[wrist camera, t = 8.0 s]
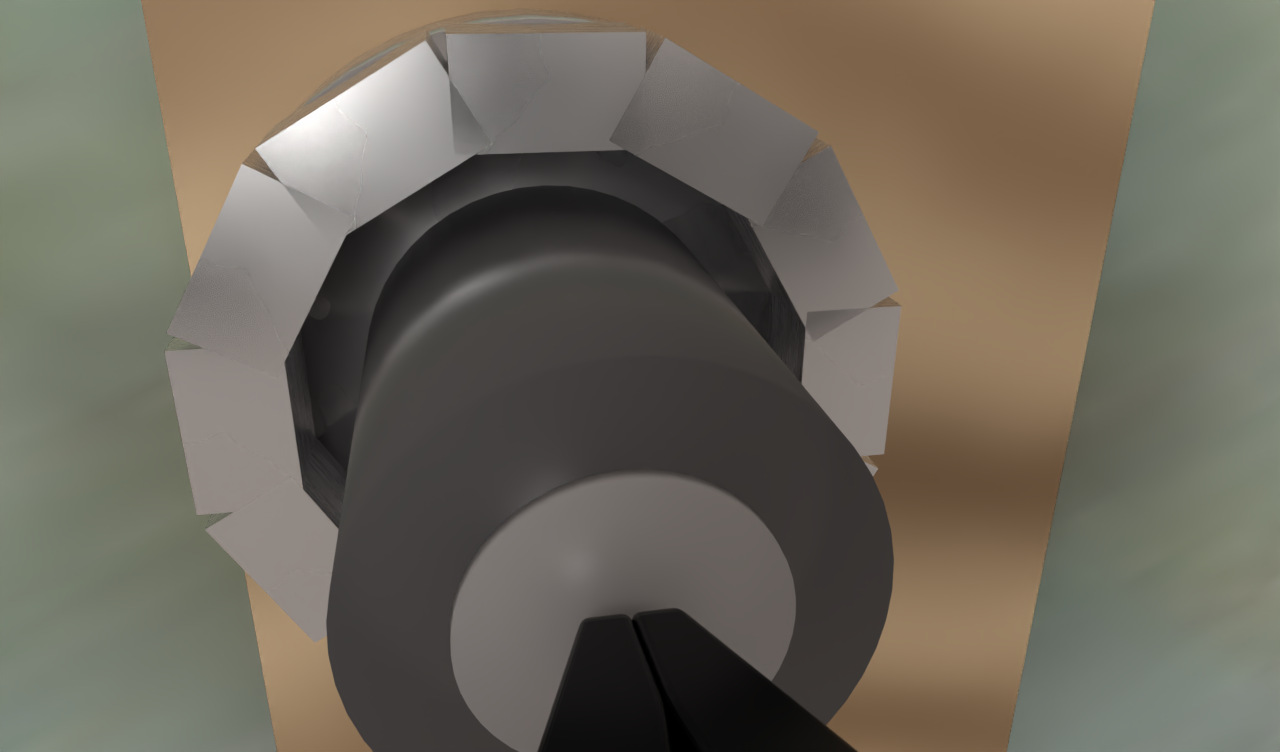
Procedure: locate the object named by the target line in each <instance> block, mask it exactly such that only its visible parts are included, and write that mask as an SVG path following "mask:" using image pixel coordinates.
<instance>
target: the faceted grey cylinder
mask: <svg viewBox="0 0 1280 752" xmlns="http://www.w3.org/2000/svg"><path fill="white" fill-rule="evenodd" d="M818 133H819V132H818V131H816V130H815V129H813V128H811V127H810V126H808V125H807V124H805V123H803V122H802V121H800V120H799V119H797V118H795V117H794V116H792V115H790V114H789V113H787V112H786V111H784V110H782V109H781V108H779V107H777V106H776V105H774V104H773V103H771V102H769V101H768V100H766V99H764V98H763V97H761V96H760V95H758V94H756V93H755V92H753V91H751V90H750V89H748V88H747V87H745V86H743V85H742V84H740V83H738V82H737V81H735V80H734V79H732V78H730V77H729V76H727V75H725V74H724V73H722V72H721V71H719V70H717V69H716V68H714V67H712V66H711V65H709V64H708V63H706V62H704V61H703V60H701V59H699V58H698V57H696V56H695V55H693V54H691V53H690V52H688V51H686V50H685V49H683V48H682V47H680V46H678V45H677V44H675V43H673V42H672V41H670V40H669V39H667V38H665V37H663V36H661V35H658V34H656V33H653V32H651V31H649V30H646V29H644V28H642V27H640V29H638V28H635V27H633V26H631V25H628V24H626V23H624V22H611V21H608V20H605V19H600V18H595V17H591V16H586V15H581V14H576V13H571V12H566V11H555V10H539V9H524V8H520V9H507V10H494V11H480V12H475V13H470V14H466V15H461V16H457V17H452V18H447V19H443V20H438V21H435V22H432V23H429V24H427V25H424V26H421V27H419V28H416V29H413V30H411V31H408V32H405V33H402V34H400V35H397V36H395V37H393V38H391V39H389V40H388V41H386V42H384V43H382V44H380V45H378V46H376V47H375V48H373V49H371V50H369V51H367V52H365V53H363V54H362V55H360V56H358V57H357V58H355V59H354V60H353V61H351V62H350V63H349V64H347V65H346V66H345V67H343V68H342V69H340V70H339V71H338V72H336V73H335V74H334V75H332V76H331V77H330V78H328V79H327V80H326V81H324V82H323V83H322V84H321V85H320V86H319V87H318V88H317V89H316V90H315V91H314V92H313V93H312V94H311V95H310V96H309V97H308V98H307V99H306V100H305V101H304V102H303V103H302V104H301V105H300V106H299V107H298V108H297V109H296V110H295V111H294V112H293V113H292V115H290V116H288V117H287V118H285V119H284V120H282V121H281V122H279V123H277V124H276V125H274V127H273V128H272V129H271V130H270V131H269V133H268V134H267V135H266V136H265V137H264V138H263V139H262V140H261V142H260V143H259V144H258V145H257V146H256V147H255V149H254V150H253V151H252V152H251V153H250V155H249V156H248V157H247V158H246V159H245V161H244V162H243V163H242V164H241V167H240V169H239V171H238V173H237V176H236V178H235V180H234V182H233V185H232V187H231V189H230V191H229V194H228V196H227V198H226V200H225V203H224V205H223V207H222V209H221V212H220V214H219V216H218V218H217V221H216V223H215V225H214V227H213V230H212V232H211V234H210V236H209V239H208V241H207V243H206V245H205V248H204V250H203V252H202V254H201V256H200V259H199V261H198V263H197V265H196V268H195V270H194V272H193V274H192V277H191V279H190V281H189V283H188V286H187V288H186V290H185V292H184V295H183V297H182V299H181V301H180V304H179V306H178V308H177V310H176V313H175V315H174V317H173V319H172V322H171V324H170V326H169V328H168V331H167V334H170V335H172V336H174V337H173V339H172V340H171V342H170V344H169V345H168V347H167V348H166V350H165V351H164V352H165V357H166V362H167V367H168V372H169V377H170V382H171V387H172V392H173V397H174V402H175V407H176V412H177V417H178V422H179V427H180V432H181V437H182V442H183V448H184V453H185V458H186V463H187V468H188V473H189V478H190V483H191V488H192V493H193V498H194V503H195V508H196V513H197V515H205V514H211V516H210V518H209V521H208V524H207V526H206V529H205V530H206V532H207V533H208V534H209V535H210V536H211V537H212V538H213V539H214V540H215V541H216V542H217V543H218V544H219V545H220V546H221V547H222V548H223V549H224V550H225V551H226V552H227V553H228V554H229V555H230V556H231V557H232V558H233V559H234V560H235V561H236V562H237V563H238V564H239V565H240V566H241V567H242V568H243V570H244V571H245V572H246V573H247V574H248V575H249V576H250V577H251V578H252V579H253V580H254V581H255V582H256V583H257V584H258V585H259V586H260V587H261V588H262V589H263V590H264V591H265V592H266V593H267V594H268V595H269V596H270V597H271V598H272V599H273V600H274V601H275V602H276V603H277V604H278V605H279V606H280V608H281V609H282V610H283V611H284V612H285V613H286V614H287V615H288V616H289V617H290V618H291V619H292V620H293V621H294V622H295V623H296V624H297V625H298V626H299V627H300V628H301V629H302V630H303V631H304V632H305V633H306V634H307V635H308V636H309V637H310V638H311V639H312V640H313V641H314V642H315V643H316V642H317V641H319V640H321V639H322V638H324V637H326V636H327V628H326V618H327V609H328V599H329V590H330V583H331V576H332V570H333V563H334V557H335V550H336V543H337V537H338V530H339V524H340V517H341V511H342V504H343V498H344V491H345V484H346V478H347V471H348V465H349V458H350V452H351V445H352V438H353V432H354V425H355V419H356V412H357V406H358V399H359V393H360V386H361V379H362V373H363V366H364V360H365V353H366V347H367V340H368V333H369V327H370V324H371V320H372V316H373V312H374V308H375V305H376V303H377V300H378V298H379V296H380V293H381V291H382V288H383V286H384V284H385V282H386V281H387V279H388V277H389V276H390V274H391V272H392V271H393V269H394V267H395V266H396V264H397V263H398V261H399V260H400V259H401V258H402V257H403V255H404V254H405V253H406V252H407V250H408V249H409V248H410V247H411V245H412V244H413V243H415V242H416V241H417V240H418V239H419V238H420V237H421V236H422V235H423V234H424V233H425V232H426V231H427V230H428V229H429V228H431V227H432V226H434V225H435V224H436V223H438V222H439V221H440V220H442V219H443V218H445V217H446V216H447V215H449V214H451V213H452V212H454V211H456V210H458V209H460V208H462V207H464V206H465V205H467V204H469V203H471V202H474V201H476V200H479V199H482V198H484V197H487V196H490V195H492V194H495V193H499V192H503V191H508V190H512V189H516V188H521V187H531V186H541V185H555V186H572V187H579V188H585V189H591V190H595V191H599V192H602V193H605V194H608V195H612V196H615V197H618V198H620V199H622V200H624V201H626V202H629V203H631V204H633V205H635V206H637V207H639V208H641V209H642V210H644V211H645V212H647V213H648V214H650V215H652V216H653V217H655V218H656V219H658V220H659V221H660V222H661V223H662V224H664V225H665V226H666V227H667V228H668V229H670V230H671V231H672V232H673V233H674V234H675V235H676V236H677V237H678V238H679V239H680V240H681V242H682V243H683V244H684V245H685V246H686V247H687V248H688V249H689V251H690V252H691V253H692V254H693V255H694V257H695V258H696V259H697V260H698V261H699V262H700V264H701V265H702V266H703V267H704V268H705V270H706V271H707V272H708V273H709V274H710V276H711V277H712V278H713V279H714V280H715V282H716V283H717V284H718V285H719V286H720V288H721V289H722V290H723V291H724V292H725V293H726V295H727V296H728V297H729V298H730V299H731V301H732V302H733V303H734V304H735V305H736V307H737V308H738V309H739V310H740V311H741V313H742V314H743V315H744V316H745V317H746V319H747V320H748V321H749V322H750V323H751V324H752V326H753V327H754V328H755V329H756V330H757V332H758V333H759V334H760V335H761V336H762V338H763V339H764V340H765V341H766V342H767V344H768V345H769V346H770V347H771V348H772V350H773V351H774V352H775V353H776V354H777V355H778V357H779V358H780V359H781V360H782V361H783V363H784V364H785V365H786V366H787V367H788V369H789V370H790V371H791V372H792V373H793V375H794V376H795V377H796V378H797V379H798V381H799V382H800V383H801V384H802V385H803V386H804V388H805V389H806V390H807V391H808V392H809V394H810V395H811V396H812V397H813V398H814V400H815V401H816V402H817V403H818V404H819V406H820V407H821V408H822V409H823V410H824V411H825V413H826V414H827V415H828V416H829V417H830V419H831V420H832V421H833V422H834V423H835V425H836V426H837V427H838V428H839V429H840V431H841V432H842V433H843V434H844V435H845V437H846V438H847V439H848V440H849V441H850V442H851V444H852V445H853V446H854V447H855V449H856V450H857V452H858V453H859V455H860V457H861V458H862V460H863V461H864V463H865V464H866V466H867V467H868V469H869V470H870V472H871V474H872V476H874V474H875V473H876V471H877V470H878V467H877V466H876V465H875V464H874V463H873V461H872V460H871V459H870V458H869V457H868V456H869V455H881V454H884V451H885V442H886V434H887V425H888V417H889V408H890V399H891V391H892V382H893V374H894V365H895V356H896V348H897V339H898V331H899V322H900V313H901V305H899V304H898V303H897V302H896V301H894V300H893V299H892V298H890V297H889V296H890V295H892V294H893V293H895V292H897V291H898V290H899V289H898V287H897V285H896V283H895V281H894V279H893V277H892V274H891V272H890V270H889V268H888V266H887V264H886V262H885V260H884V257H883V255H882V253H881V251H880V249H879V247H878V245H877V243H876V240H875V238H874V236H873V234H872V232H871V230H870V228H869V225H868V223H867V221H866V219H865V217H864V215H863V213H862V211H861V208H860V206H859V204H858V202H857V200H856V198H855V196H854V194H853V191H852V189H851V187H850V185H849V183H848V181H847V179H846V177H845V174H844V172H843V170H842V168H841V166H840V164H839V162H838V160H837V157H836V155H835V153H834V151H833V149H832V147H831V145H829V144H827V143H825V142H823V141H821V140H819V139H817V138H816V137H817V135H818Z"/></svg>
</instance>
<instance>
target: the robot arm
mask: <svg viewBox="0 0 1280 752" xmlns="http://www.w3.org/2000/svg"><path fill="white" fill-rule="evenodd" d="M537 752H858V751H857V750H856V749H855V748H853V747H852V746H851V745H850V744H848V743H847V742H846V741H845V740H843V739H842V738H841V737H840V736H839V735H837V734H836V733H835V732H834V731H832V730H831V729H830V728H829V727H827V726H826V725H825V724H824V723H822V722H821V721H820V720H819V719H817V718H816V717H815V716H814V715H812V714H811V713H810V712H809V711H807V710H806V709H805V708H804V707H803V706H801V705H800V704H799V703H798V702H796V701H795V700H794V699H793V698H791V697H790V696H789V695H788V694H786V693H785V692H784V691H783V690H781V689H780V688H779V687H778V686H776V685H775V684H774V683H773V682H771V681H770V680H769V679H768V678H766V677H765V676H764V675H763V674H762V673H760V672H759V671H758V670H757V669H755V668H754V667H753V666H752V665H750V664H749V663H748V662H747V661H745V660H744V659H743V658H742V657H740V656H739V655H738V654H737V653H735V652H734V651H733V650H732V649H730V648H729V647H728V646H727V645H725V644H724V643H723V642H722V641H721V640H719V639H718V638H717V637H716V636H714V635H713V634H712V633H711V632H709V631H708V630H707V629H706V628H704V627H703V626H702V625H701V624H699V623H698V622H697V621H696V620H694V619H693V618H692V617H691V616H689V615H688V614H687V613H686V612H684V611H683V610H681V609H678V608H668V609H659V610H650V611H642V612H637V613H636V614H635V615H634V616H633V618H632V619H631V618H630V617H629V616H627V615H625V614H615V615H606V616H597V617H588V618H585V619H584V620H582V622H581V623H580V625H579V627H578V630H577V633H576V636H575V639H574V642H573V645H572V648H571V651H570V654H569V657H568V660H567V663H566V666H565V669H564V672H563V675H562V678H561V681H560V684H559V687H558V690H557V693H556V696H555V699H554V702H553V705H552V708H551V711H550V714H549V718H548V721H547V724H546V727H545V730H544V733H543V736H542V739H541V742H540V745H539V748H538V751H537Z"/></svg>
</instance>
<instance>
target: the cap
mask: <svg viewBox="0 0 1280 752" xmlns="http://www.w3.org/2000/svg"><path fill="white" fill-rule="evenodd" d="M893 569H894V555H893V544H892V534H891V528H890V524H889V520H888V516H887V512H886V508H885V505H884V501H883V499H882V496H881V494H880V492H879V490H878V487H877V485H876V483H875V480H874V478H873V476H872V474H871V472H870V470H869V469H868V467H867V466H866V464H865V463H864V461H863V460H862V458H861V457H860V455H859V453H858V452H857V450H856V449H855V447H854V446H853V445H852V444H851V442H850V441H849V440H848V439H847V438H846V437H845V435H844V434H843V433H842V432H841V431H840V429H839V428H838V427H837V426H836V425H835V423H834V422H833V421H832V420H831V419H830V417H829V416H828V415H827V414H826V413H825V411H824V410H823V409H822V408H821V407H820V406H819V404H818V403H817V402H816V401H815V400H814V398H813V397H812V396H811V395H810V394H809V392H808V391H807V390H806V389H805V388H804V386H803V385H802V384H801V383H800V382H799V381H798V379H797V378H796V377H795V376H794V375H793V373H792V372H791V371H790V370H789V369H788V367H787V366H786V365H785V364H784V363H783V361H782V360H781V359H780V358H779V357H778V355H777V354H776V353H775V352H774V351H773V350H772V348H771V347H770V346H769V345H768V344H767V342H766V341H765V340H764V339H763V338H762V336H761V335H760V334H759V333H758V332H757V330H756V329H755V328H754V327H753V326H752V324H751V323H750V322H749V321H748V320H747V319H746V317H745V316H744V315H743V314H742V313H741V311H740V310H739V309H738V308H737V307H736V305H735V304H734V303H733V302H732V301H731V299H730V298H729V297H728V296H727V295H726V293H725V292H724V291H723V290H722V289H721V288H720V286H719V285H718V284H717V283H716V282H715V280H714V279H713V278H712V277H711V276H710V274H709V273H708V272H707V271H706V270H705V268H704V267H703V266H702V265H701V264H700V262H699V261H698V260H697V259H696V258H695V257H694V255H693V254H692V253H691V252H690V251H689V249H688V248H687V247H686V246H685V245H684V244H683V243H682V242H681V240H680V239H679V238H678V237H677V236H676V235H675V234H674V233H673V232H672V231H671V230H670V229H668V228H667V227H666V226H665V225H664V224H662V223H661V222H660V221H659V220H658V219H656V218H655V217H653V216H652V215H650V214H648V213H647V212H645V211H644V210H642V209H641V208H639V207H637V206H635V205H633V204H631V203H629V202H626V201H624V200H622V199H620V198H618V197H615V196H612V195H608V194H605V193H602V192H599V191H595V190H591V189H585V188H579V187H572V186H555V185H541V186H531V187H521V188H516V189H512V190H508V191H503V192H499V193H495V194H492V195H490V196H487V197H484V198H482V199H479V200H476V201H474V202H471V203H469V204H467V205H465V206H464V207H462V208H460V209H458V210H456V211H454V212H452V213H451V214H449V215H447V216H446V217H445V218H443V219H442V220H440V221H439V222H438V223H436V224H435V225H434V226H432V227H431V228H429V229H428V230H427V231H426V232H425V233H424V234H423V235H422V236H421V237H420V238H419V239H418V240H417V241H416V242H415V243H413V244H412V245H411V247H410V248H409V249H408V250H407V252H406V253H405V254H404V255H403V257H402V258H401V259H400V260H399V261H398V263H397V264H396V266H395V267H394V269H393V271H392V272H391V274H390V276H389V277H388V279H387V281H386V282H385V284H384V286H383V288H382V291H381V293H380V296H379V298H378V300H377V303H376V305H375V308H374V312H373V316H372V320H371V324H370V327H369V333H368V340H367V347H366V353H365V360H364V366H363V373H362V379H361V386H360V393H359V399H358V406H357V412H356V419H355V425H354V432H353V438H352V445H351V452H350V458H349V465H348V471H347V478H346V484H345V491H344V498H343V504H342V511H341V517H340V524H339V530H338V537H337V543H336V550H335V557H334V563H333V570H332V576H331V583H330V590H329V599H328V609H327V618H326V628H327V645H328V656H329V661H330V665H331V669H332V674H333V678H334V682H335V686H336V688H337V691H338V693H339V696H340V698H341V700H342V703H343V705H344V708H345V710H346V713H347V715H348V716H349V718H350V719H351V721H352V723H353V724H354V726H355V728H356V729H357V731H358V732H359V734H360V736H361V737H362V739H363V740H364V742H365V743H366V744H367V745H368V746H369V747H370V748H371V750H372V751H373V752H537V751H538V748H539V745H540V742H541V739H542V736H543V733H544V730H545V727H546V724H547V721H548V718H549V714H550V711H551V708H552V705H553V702H554V699H555V696H556V693H557V690H558V687H559V684H560V681H561V678H562V675H563V672H564V669H565V666H566V663H567V660H568V657H569V654H570V651H571V648H572V645H573V642H574V639H575V636H576V633H577V630H578V627H579V625H580V623H581V622H582V620H584V619H585V618H588V617H597V616H606V615H615V614H625V615H627V616H629V617H630V618H631V619H632V618H633V616H634V615H635V614H636V613H637V612H642V611H650V610H659V609H668V608H678V609H681V610H683V611H684V612H686V613H687V614H688V615H689V616H691V617H692V618H693V619H694V620H696V621H697V622H698V623H699V624H701V625H702V626H703V627H704V628H706V629H707V630H708V631H709V632H711V633H712V634H713V635H714V636H716V637H717V638H718V639H719V640H721V641H722V642H723V643H724V644H725V645H727V646H728V647H729V648H730V649H732V650H733V651H734V652H735V653H737V654H738V655H739V656H740V657H742V658H743V659H744V660H745V661H747V662H748V663H749V664H750V665H752V666H753V667H754V668H755V669H757V670H758V671H759V672H760V673H762V674H763V675H764V676H765V677H766V678H768V679H769V680H770V681H771V682H773V683H774V684H775V685H776V686H778V687H779V688H780V689H781V690H783V691H784V692H785V693H786V694H788V695H789V696H790V697H791V698H793V699H794V700H795V701H796V702H798V703H799V704H800V705H801V706H803V707H804V708H805V709H806V710H807V711H809V712H810V713H811V714H812V715H814V716H815V717H816V718H817V719H819V720H820V721H821V722H822V723H824V724H825V725H827V724H828V723H829V721H830V720H831V719H832V718H833V717H834V715H835V714H836V713H837V712H838V711H839V709H840V708H841V707H842V706H843V704H844V703H845V702H846V701H847V699H848V698H849V696H850V694H851V693H852V691H853V690H854V688H855V687H856V685H857V684H858V682H859V681H860V679H861V678H862V676H863V674H864V672H865V670H866V668H867V666H868V664H869V662H870V660H871V658H872V656H873V654H874V652H875V650H876V648H877V645H878V642H879V639H880V636H881V634H882V631H883V628H884V625H885V622H886V619H887V614H888V609H889V604H890V599H891V594H892V587H893Z"/></svg>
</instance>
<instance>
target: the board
mask: <svg viewBox="0 0 1280 752" xmlns="http://www.w3.org/2000/svg"><path fill="white" fill-rule="evenodd" d="M141 2H142V8H143V13H144V19H145V24H146V30H147V35H148V41H149V46H150V52H151V57H152V63H153V68H154V74H155V79H156V85H157V90H158V96H159V102H160V107H161V113H162V118H163V124H164V129H165V135H166V140H167V146H168V151H169V157H170V162H171V168H172V173H173V179H174V184H175V190H176V195H177V201H178V206H179V212H180V217H181V223H182V228H183V234H184V240H185V245H186V251H187V256H188V262H189V267H190V273H191V277H192V274H193V272H194V270H195V268H196V265H197V263H198V261H199V259H200V256H201V254H202V252H203V250H204V248H205V245H206V243H207V241H208V239H209V236H210V234H211V232H212V230H213V227H214V225H215V223H216V221H217V218H218V216H219V214H220V212H221V209H222V207H223V205H224V203H225V200H226V198H227V196H228V194H229V191H230V189H231V187H232V185H233V182H234V180H235V178H236V176H237V173H238V171H239V169H240V167H241V164H242V163H243V162H244V161H245V159H246V158H247V157H248V156H249V155H250V153H251V152H252V151H253V150H254V149H255V147H256V146H257V145H258V144H259V143H260V142H261V140H262V139H263V138H264V137H265V136H266V135H267V134H268V133H269V131H270V130H271V129H272V128H273V127H274V125H276V124H277V123H279V122H281V121H282V120H284V119H285V118H287V117H288V116H290V115H292V113H293V112H294V111H295V110H296V109H297V108H298V107H299V106H300V105H301V104H302V103H303V102H304V101H305V100H306V99H307V98H308V97H309V96H310V95H311V94H312V93H313V92H314V91H315V90H316V89H317V88H318V87H319V86H320V85H321V84H322V83H323V82H324V81H326V80H327V79H328V78H330V77H331V76H332V75H334V74H335V73H336V72H338V71H339V70H340V69H342V68H343V67H345V66H346V65H347V64H349V63H350V62H351V61H353V60H354V59H355V58H357V57H358V56H360V55H362V54H363V53H365V52H367V51H369V50H371V49H373V48H375V47H376V46H378V45H380V44H382V43H384V42H386V41H388V40H389V39H391V38H393V37H395V36H397V35H400V34H402V33H405V32H408V31H411V30H413V29H416V28H419V27H421V26H424V25H427V24H429V23H432V22H435V21H438V20H443V19H447V18H452V17H457V16H461V15H466V14H470V13H475V12H480V11H494V10H507V9H520V8H524V9H539V10H555V11H566V12H571V13H576V14H581V15H586V16H591V17H595V18H600V19H605V20H608V21H611V22H624V23H626V24H628V25H631V26H633V27H635V28H638V29H640V27H642V28H644V29H646V30H649V31H651V32H653V33H656V34H658V35H661V36H663V37H665V38H667V39H669V40H670V41H672V42H673V43H675V44H677V45H678V46H680V47H682V48H683V49H685V50H686V51H688V52H690V53H691V54H693V55H695V56H696V57H698V58H699V59H701V60H703V61H704V62H706V63H708V64H709V65H711V66H712V67H714V68H716V69H717V70H719V71H721V72H722V73H724V74H725V75H727V76H729V77H730V78H732V79H734V80H735V81H737V82H738V83H740V84H742V85H743V86H745V87H747V88H748V89H750V90H751V91H753V92H755V93H756V94H758V95H760V96H761V97H763V98H764V99H766V100H768V101H769V102H771V103H773V104H774V105H776V106H777V107H779V108H781V109H782V110H784V111H786V112H787V113H789V114H790V115H792V116H794V117H795V118H797V119H799V120H800V121H802V122H803V123H805V124H807V125H808V126H810V127H811V128H813V129H815V130H816V131H818V132H819V133H818V135H817V137H816V138H817V139H819V140H821V141H823V142H825V143H827V144H829V145H831V147H832V149H833V151H834V153H835V155H836V157H837V160H838V162H839V164H840V166H841V168H842V170H843V172H844V174H845V177H846V179H847V181H848V183H849V185H850V187H851V189H852V191H853V194H854V196H855V198H856V200H857V202H858V204H859V206H860V208H861V211H862V213H863V215H864V217H865V219H866V221H867V223H868V225H869V228H870V230H871V232H872V234H873V236H874V238H875V240H876V243H877V245H878V247H879V249H880V251H881V253H882V255H883V257H884V260H885V262H886V264H887V266H888V268H889V270H890V272H891V274H892V277H893V279H894V281H895V283H896V285H897V287H898V289H899V290H898V291H897V292H895V293H893V294H892V295H890V296H889V297H890V298H892V299H893V300H894V301H896V302H897V303H898V304H899V305H901V313H900V322H899V331H898V339H897V348H896V356H895V365H894V374H893V382H892V391H891V399H890V408H889V417H888V425H887V434H886V442H885V451H884V454H881V455H869V456H868V457H869V458H870V459H871V460H872V461H873V463H874V464H875V465H876V466H877V467H878V470H877V471H876V473H875V474H874V476H873V478H874V480H875V483H876V485H877V487H878V490H879V492H880V494H881V496H882V499H883V501H884V505H885V508H886V512H887V516H888V520H889V524H890V528H891V534H892V544H893V555H894V569H893V587H892V594H891V599H890V604H889V609H888V614H887V619H886V622H885V625H884V628H883V631H882V634H881V636H880V639H879V642H878V645H877V648H876V650H875V652H874V654H873V656H872V658H871V660H870V662H869V664H868V666H867V668H866V670H865V672H864V674H863V676H862V678H861V679H860V681H859V682H858V684H857V685H856V687H855V688H854V690H853V691H852V693H851V694H850V696H849V698H848V699H847V701H846V702H845V703H844V704H843V706H842V707H841V708H840V709H839V711H838V712H837V713H836V714H835V715H834V717H833V718H832V719H831V720H830V721H829V723H828V724H827V725H826V726H827V727H829V728H830V729H831V730H832V731H834V732H835V733H836V734H837V735H839V736H840V737H841V738H842V739H843V740H845V741H846V742H847V743H848V744H850V745H851V746H852V747H853V748H855V749H856V750H857V751H858V752H1007V747H1008V742H1009V737H1010V732H1011V727H1012V722H1013V716H1014V711H1015V706H1016V701H1017V696H1018V691H1019V686H1020V681H1021V676H1022V671H1023V666H1024V661H1025V656H1026V651H1027V646H1028V641H1029V636H1030V631H1031V626H1032V620H1033V615H1034V610H1035V605H1036V600H1037V595H1038V590H1039V585H1040V580H1041V575H1042V570H1043V565H1044V560H1045V555H1046V550H1047V545H1048V540H1049V535H1050V530H1051V524H1052V519H1053V514H1054V509H1055V504H1056V499H1057V494H1058V489H1059V484H1060V479H1061V474H1062V469H1063V464H1064V459H1065V454H1066V449H1067V444H1068V439H1069V434H1070V428H1071V423H1072V418H1073V413H1074V408H1075V403H1076V398H1077V393H1078V388H1079V383H1080V378H1081V373H1082V368H1083V363H1084V358H1085V353H1086V348H1087V343H1088V338H1089V332H1090V327H1091V322H1092V317H1093V312H1094V307H1095V302H1096V297H1097V292H1098V287H1099V282H1100V277H1101V272H1102V267H1103V262H1104V257H1105V252H1106V247H1107V242H1108V236H1109V231H1110V226H1111V221H1112V216H1113V211H1114V206H1115V201H1116V196H1117V191H1118V186H1119V181H1120V176H1121V171H1122V166H1123V161H1124V156H1125V151H1126V146H1127V140H1128V135H1129V130H1130V125H1131V120H1132V115H1133V110H1134V105H1135V100H1136V95H1137V90H1138V85H1139V80H1140V75H1141V70H1142V65H1143V60H1144V55H1145V50H1146V44H1147V39H1148V34H1149V29H1150V24H1151V19H1152V14H1153V9H1154V4H1155V0H141ZM245 576H246V582H247V587H248V593H249V598H250V604H251V609H252V615H253V620H254V626H255V631H256V637H257V643H258V648H259V654H260V659H261V665H262V670H263V676H264V681H265V687H266V692H267V698H268V703H269V709H270V714H271V720H272V725H273V731H274V736H275V742H276V747H277V752H373V751H372V750H371V748H370V747H369V746H368V745H367V744H366V743H365V742H364V740H363V739H362V737H361V736H360V734H359V732H358V731H357V729H356V728H355V726H354V724H353V723H352V721H351V719H350V718H349V716H348V715H347V713H346V710H345V708H344V705H343V703H342V700H341V698H340V696H339V693H338V691H337V688H336V686H335V682H334V678H333V674H332V669H331V665H330V661H329V656H328V645H327V636H326V637H324V638H322V639H321V640H319V641H317V642H316V643H315V642H314V641H313V640H312V639H311V638H310V637H309V636H308V635H307V634H306V633H305V632H304V631H303V630H302V629H301V628H300V627H299V626H298V625H297V624H296V623H295V622H294V621H293V620H292V619H291V618H290V617H289V616H288V615H287V614H286V613H285V612H284V611H283V610H282V609H281V608H280V606H279V605H278V604H277V603H276V602H275V601H274V600H273V599H272V598H271V597H270V596H269V595H268V594H267V593H266V592H265V591H264V590H263V589H262V588H261V587H260V586H259V585H258V584H257V583H256V582H255V581H254V580H253V579H252V578H251V577H250V576H249V575H248V574H247V573H246V572H245Z"/></svg>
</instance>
